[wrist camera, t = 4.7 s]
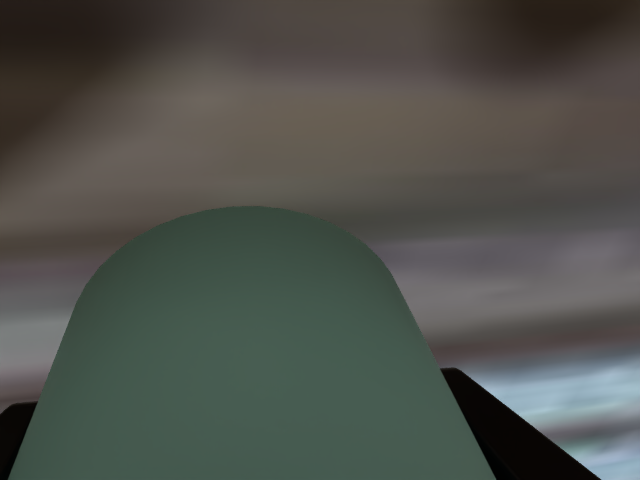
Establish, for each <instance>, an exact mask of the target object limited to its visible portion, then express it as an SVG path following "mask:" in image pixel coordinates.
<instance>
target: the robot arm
mask: <svg viewBox="0 0 640 480" xmlns="http://www.w3.org/2000/svg"><path fill="white" fill-rule="evenodd" d="M440 370H441V372H442V374H443V376H444V378H445V380H446V382H447V384H448V386H449V388H450V390H451V392H452V394H453V396H454V398H455V400H456V402H457V404H458V406H459V408H460V409H461V411H462V413H463V415H464V417H465V419H466V421H467V423H468V425H469V427H470V429H471V431H472V433H473V435H474V437H475V439H476V441H477V443H478V445H479V447H480V449H481V451H482V453H483V455H484V457H485V459H486V461H487V463H488V465H489V467H490V469H491V470H492V472H493V474H494V476H495V478H496V480H601V479H600V478H599V477H597V476H596V475H595V474H593V473H592V472H591V471H590V470H588V469H587V468H586V467H584V466H583V465H582V464H581V463H579V462H578V461H577V460H575V459H574V458H573V457H572V456H570V455H569V454H568V453H566V452H565V451H564V450H562V449H561V448H560V447H559V446H557V445H556V444H555V443H553V442H552V441H551V440H550V439H548V438H547V437H546V436H544V435H543V434H542V433H541V432H539V431H538V430H537V429H535V428H534V427H533V426H532V425H530V424H529V423H528V422H526V421H525V420H524V419H523V418H521V417H520V416H519V415H517V414H516V413H515V412H514V411H512V410H511V409H510V408H508V407H507V406H506V405H505V404H503V403H502V402H501V401H499V400H498V399H497V398H496V397H494V396H493V395H492V394H490V393H489V392H488V391H487V390H485V389H484V388H483V387H481V386H480V385H479V384H478V383H476V382H475V381H474V380H472V379H471V378H470V377H469V376H467V375H466V374H465V373H463V372H462V371H461V370H459V369H457V368H440ZM37 403H38V401H35V402H23V403H15V404H12V405H10V406H9V407H7V408H6V409H5V410H4V411H3V412H2V413H1V414H0V480H8V478H9V475H10V473H11V470H12V468H13V465H14V462H15V460H16V457H17V455H18V452H19V449H20V447H21V444H22V442H23V439H24V437H25V434H26V431H27V429H28V426H29V424H30V421H31V419H32V416H33V413H34V411H35V408H36V406H37Z"/></svg>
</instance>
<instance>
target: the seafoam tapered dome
mask: <svg viewBox="0 0 640 480" xmlns="http://www.w3.org/2000/svg"><path fill="white" fill-rule="evenodd" d="M8 480H496V478H495V476H494V474H493V472H492V470H491V469H490V467H489V465H488V463H487V461H486V459H485V457H484V455H483V453H482V451H481V449H480V447H479V445H478V443H477V441H476V439H475V437H474V435H473V433H472V431H471V429H470V427H469V425H468V423H467V421H466V419H465V417H464V415H463V413H462V411H461V409H460V408H459V406H458V404H457V402H456V400H455V398H454V396H453V394H452V392H451V390H450V388H449V386H448V384H447V382H446V380H445V378H444V376H443V374H442V372H441V370H440V368H439V366H438V364H437V362H436V360H435V358H434V356H433V354H432V352H431V350H430V349H429V347H428V345H427V343H426V341H425V339H424V337H423V335H422V333H421V331H420V329H419V327H418V325H417V323H416V321H415V319H414V317H413V315H412V313H411V311H410V309H409V307H408V305H407V303H406V301H405V299H404V297H403V295H402V293H401V291H400V289H399V288H398V286H397V284H396V282H395V280H394V278H393V276H392V274H391V272H390V271H389V270H388V268H387V267H386V266H385V264H384V263H383V262H382V260H381V259H380V258H379V257H378V256H377V255H376V254H375V253H374V252H373V251H372V250H371V249H370V248H369V247H368V246H367V245H366V244H364V243H363V242H362V241H360V240H359V239H357V238H356V237H355V236H353V235H352V234H350V233H349V232H347V231H345V230H343V229H341V228H339V227H338V226H336V225H334V224H332V223H330V222H327V221H325V220H322V219H319V218H316V217H314V216H311V215H308V214H304V213H300V212H295V211H291V210H287V209H280V208H271V207H261V206H242V207H226V208H219V209H211V210H205V211H201V212H197V213H193V214H189V215H185V216H181V217H179V218H176V219H174V220H171V221H168V222H166V223H163V224H161V225H158V226H156V227H154V228H152V229H150V230H149V231H147V232H145V233H143V234H141V235H139V236H137V237H136V238H134V239H133V240H131V241H130V242H129V243H127V244H126V245H124V246H123V247H122V248H120V249H119V250H117V251H116V252H115V253H114V254H113V255H112V256H111V257H110V258H109V259H108V260H107V261H106V262H105V263H104V264H102V265H101V266H100V267H99V269H98V270H97V271H96V273H95V274H94V275H93V276H92V278H91V279H90V280H89V282H88V283H87V284H86V286H85V288H84V290H83V292H82V293H81V295H80V297H79V299H78V301H77V303H76V305H75V308H74V310H73V313H72V316H71V318H70V321H69V323H68V326H67V328H66V331H65V334H64V336H63V339H62V341H61V344H60V346H59V349H58V352H57V354H56V357H55V359H54V362H53V364H52V367H51V370H50V372H49V375H48V377H47V380H46V382H45V385H44V388H43V390H42V393H41V395H40V398H39V401H38V403H37V406H36V408H35V411H34V413H33V416H32V419H31V421H30V424H29V426H28V429H27V431H26V434H25V437H24V439H23V442H22V444H21V447H20V449H19V452H18V455H17V457H16V460H15V462H14V465H13V468H12V470H11V473H10V475H9V478H8Z"/></svg>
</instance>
